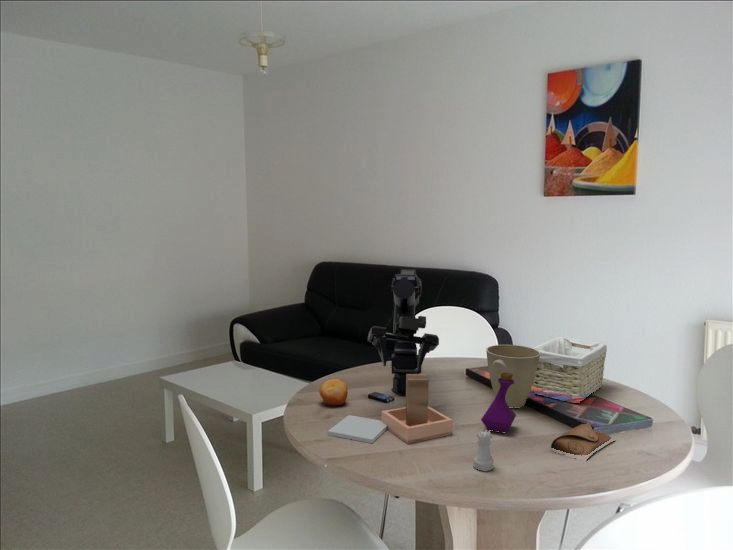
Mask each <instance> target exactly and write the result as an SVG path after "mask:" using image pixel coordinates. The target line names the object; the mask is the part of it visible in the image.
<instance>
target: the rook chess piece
mask: <svg viewBox="0 0 733 550" xmlns="http://www.w3.org/2000/svg"><path fill="white" fill-rule="evenodd" d="M491 432H492V431H489V430H488V429H479V430H478V433H477V434H476V437H477V439H478V441H477V444H478V445H477V453H476V454H475V456H474V457H473V464H472V465H473V467H474V468H475V470H477V469H478V471H479V470H482V471H481V472H489V471H488V470H490V471H492V470H493V469H494V467H495V466H494V463H495V462H494V459H493V457H492V455H491V440H492V438H493V435H492V433H491ZM491 469H492V470H491Z"/></svg>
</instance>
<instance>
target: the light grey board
mask: <svg viewBox="0 0 733 550" xmlns="http://www.w3.org/2000/svg"><path fill="white" fill-rule="evenodd" d="M386 431H388V430H387V425H386V424H384V423H383V422H382V420H379V419H373V418H368V417H362V416H357V415H350V414H348V415H347V416H345V418H343V419H341V420H340V421H339V422H338V423H336V424H335V425H334V426H332V427H331V428H329V430H327V436H331V437H335V438H340V439H346V440H347V439H348V440H351V439H352V441H357V442H362V443H367V444H374V443H375V442H376V441H377V440H378V439H379V438H380V437H381V436H382V435H383V434H384V433H385V432H386Z"/></svg>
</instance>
